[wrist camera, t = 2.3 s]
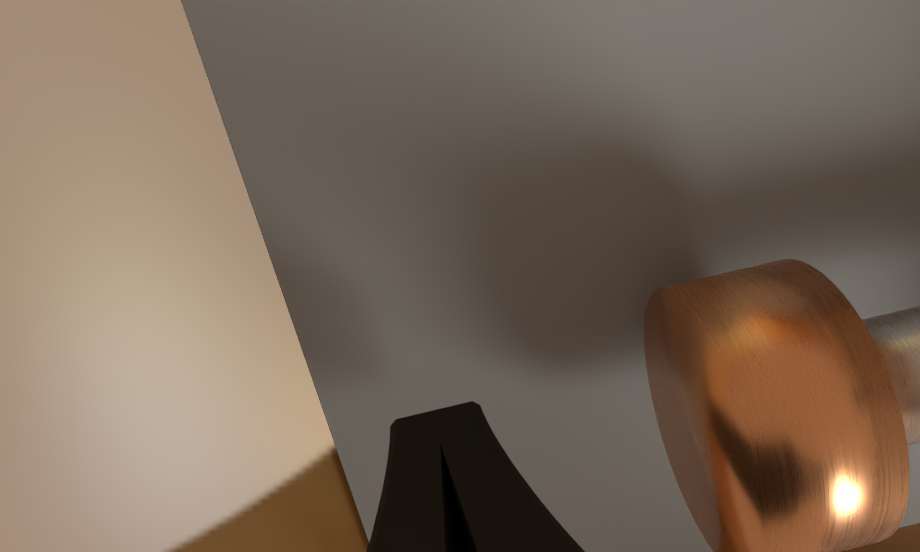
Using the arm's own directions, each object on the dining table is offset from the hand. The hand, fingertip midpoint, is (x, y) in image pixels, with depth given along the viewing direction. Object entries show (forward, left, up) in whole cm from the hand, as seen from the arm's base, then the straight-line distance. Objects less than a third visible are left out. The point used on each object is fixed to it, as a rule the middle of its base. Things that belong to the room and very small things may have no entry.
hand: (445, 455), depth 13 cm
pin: (-7, -6, -2) cm, 9 cm away
